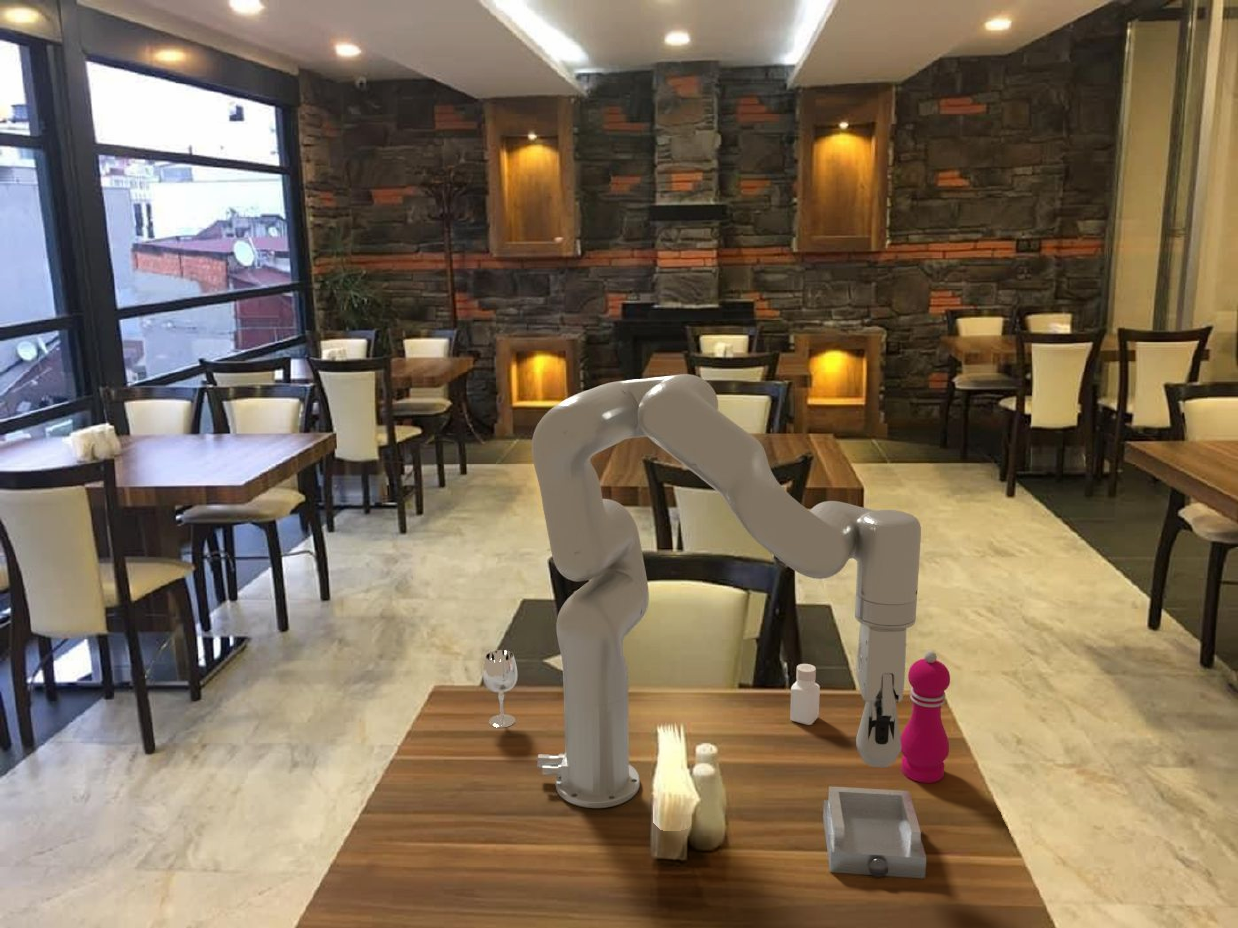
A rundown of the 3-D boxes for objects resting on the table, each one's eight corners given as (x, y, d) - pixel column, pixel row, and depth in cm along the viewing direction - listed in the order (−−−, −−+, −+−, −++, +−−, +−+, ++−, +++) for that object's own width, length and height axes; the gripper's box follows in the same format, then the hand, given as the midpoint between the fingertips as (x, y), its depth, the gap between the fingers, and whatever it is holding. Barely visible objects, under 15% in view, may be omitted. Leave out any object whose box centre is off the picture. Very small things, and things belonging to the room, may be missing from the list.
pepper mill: (909, 754, 158) (917, 637, 154) (954, 770, 154) (964, 649, 149) (890, 774, 153) (897, 653, 148) (935, 790, 149) (945, 666, 144)
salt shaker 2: (901, 773, 129) (907, 680, 126) (855, 769, 130) (860, 676, 127) (898, 750, 134) (904, 660, 131) (854, 746, 136) (859, 657, 132)
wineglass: (482, 715, 172) (479, 651, 169) (515, 710, 174) (512, 646, 171) (488, 731, 167) (485, 665, 164) (522, 726, 168) (519, 660, 166)
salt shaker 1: (819, 717, 171) (821, 665, 168) (811, 727, 167) (813, 674, 165) (797, 711, 173) (799, 660, 170) (788, 721, 169) (790, 669, 167)
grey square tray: (830, 875, 130) (832, 838, 128) (823, 818, 142) (824, 783, 141) (926, 882, 128) (928, 844, 127) (910, 823, 141) (912, 788, 139)
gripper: (848, 584, 135) (843, 708, 140) (862, 632, 120) (855, 770, 124) (905, 585, 135) (898, 710, 139) (927, 634, 119) (918, 773, 123)
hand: (878, 737), depth 131 cm, fingers closed on salt shaker 2, 3 cm apart
